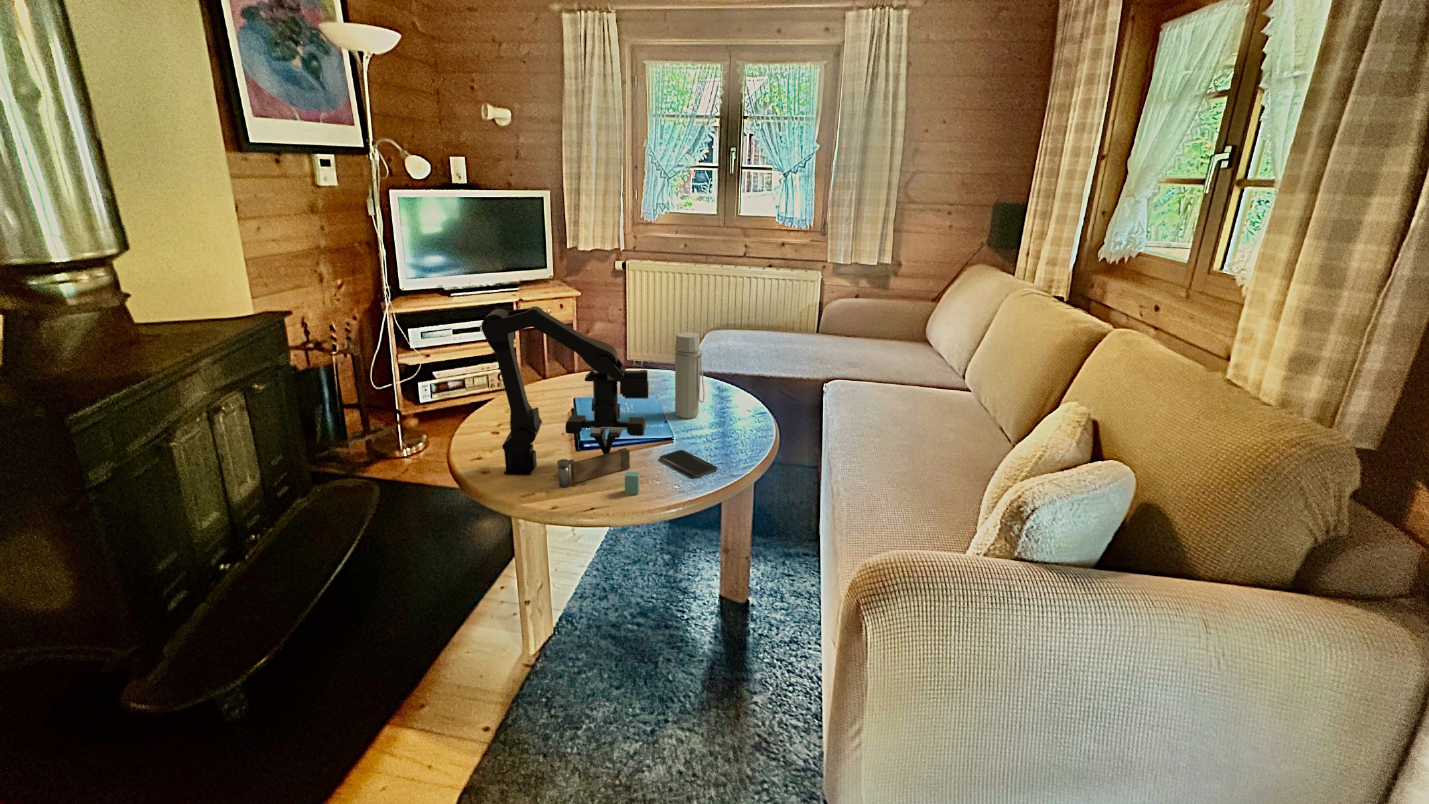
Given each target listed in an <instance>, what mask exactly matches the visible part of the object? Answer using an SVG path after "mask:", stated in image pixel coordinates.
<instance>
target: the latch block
mask: <svg viewBox="0 0 1429 804" xmlns="http://www.w3.org/2000/svg"><path fill="white" fill-rule="evenodd" d="M639 493H640V472H639V471H626V472H625V474H624V494H625V495H639Z"/></svg>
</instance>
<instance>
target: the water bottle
mask: <svg viewBox="0 0 1429 804" xmlns="http://www.w3.org/2000/svg"><path fill="white" fill-rule="evenodd" d="M675 338H676V339H675V346H674V351H675V354H674V355H675V356H674V357H675V359H674V362H675V363H674V366H675V368H674V372H675V373H674V375H675V376H674V381H675V383H674V384H675V386H674V390H675V391H674V394H675V395H674V403H675V404H674V406H675V408H674V414H675V415H676V416H677V417H679V418H681V419H688V420H689V419H693V418H696V417H697V416H698V415H699V413H700V408H699V407H700V404H699V403H702V404H703V403H704V401H705V397H706V396H705V394H706V393H705V381H704V371H703V362H702V357H703V353H704V352H703V350H701V347H700V345H701V344H700V335H699V333H696V332H692V331H689V332H688V331H684V332H678V333H676V334H675ZM701 383H702V391H703V392H702V393H703V395H702V400H701V396H700V394H701Z"/></svg>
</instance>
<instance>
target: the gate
mask: <svg viewBox="0 0 1429 804" xmlns="http://www.w3.org/2000/svg"><path fill="white" fill-rule="evenodd" d="M630 453H631V452H630V450H629V449H628V448H626V447H624V448H620V449H618V450H615V451H612V452H611V451H610V453H607V454H603V453H602V454H599V455H596V456H592V457H589V458H585V459H581V460H578V461H575V460H574V459H573V458H571V459H569V460H568V459H566V458H564V459H559V460H557V467H566V466H569V465H570V475H571V476H570V479H571V482H573V483H574V484H576V483H580V482H582V481H586V480H589V479H593V478H597V477H600V476H603V475H607V474H608V475H609V474H611V473H614V472H618V471H621V470H622V471H623V470H624V471H625V470H628V469H630V468H631V464H630V463H631V462H630V461H631V458H630V457H631V456H630Z"/></svg>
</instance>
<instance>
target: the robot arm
mask: <svg viewBox="0 0 1429 804" xmlns="http://www.w3.org/2000/svg"><path fill="white" fill-rule="evenodd" d="M480 327H481V331H482V333H483V335H484V338H485V340H486V342H487V344H488V345H489V347H490V348H491V349H492V351H493V352H494V353H495V357H496V360H497V361H496V362H497V364H498V367H499V372H500V375H501V379H502V383H503V387H504V390H505V393H506V397H507V401H508V406H509V409H510V410H509V412H510V415H509V416H510V417H509V429H510V431H509V433H508V434H507V436H506V438H505V440H504V441H503V444H502V446H501V448H502V450H503V452H504V463H505V470H504V471H503V475H504V476H530V475H532V473H533V472H534V471H535V469H536V467H537V451H536V450H534V444H533V443H534V441H535V440H536V438H537V435H538V433H539V432H540V429H541V425H542V423H543V420H542V419H541V417H540V411H539V407H538V406H537V407H534V408H533V407H532V406H531V405H530V403H529V401H528V397H527V393H526V389H525V386H524V385H525V384H524V380H523V377H522V373H521V369H520V366H519V363H518V359H517V354H516V351H515V332H518V331H522V330H524V329H528V328H534V329H536V330H538V331H539V332H541V333H542V334H545V335H547V336H548V337H549V338H550V339H553V340H555V341H557V342H558V343H559V344H561V345H562V346H565V347H566V348H568V349H569V350H571V351H572V352H575V353H576V354H577V355H578V356H579V357H581V359H582V360H583V361H584V363H586V365H588V366H589V367H590V368H591V369H590V371H589V372H588V373H586V374H585V377H584V381H585V382H592V384H593V385H592V389H593V390H592V392H593V398H592V399H591V411H592V412H593V420H591V419H590V420H589V419H587V417H586V415H583V414H581V415H579V414H572V415H570V416H569V417H568V419H567V421H566V422H565V426H564V427H565V433H566V434H573V435H576V434H577V435H578V434H580V433H581V432H582V431H583V430H582V429H590V434H589V437H590V438H594V440H595V442H596V443H597V444H598V446H599V448H600V451H601V452H602V455H603V454H607V453H611V450H612V446H613V445H614V442H615V439H620V437H621V434H622V432H623V430H626V433H627V434H628V435H629V436H634V437H636V436H637V437H643V436H645V435H644V434H645V430H646V428H647V422H646V418H644V417H643V416H629V418H628V420H627V421H626V420H625V421H623V420H619V419H620V418H621V403H620V402H619V398H618V395H619V394H620V395H622V396H621V397H624V399H626V400H628V399H630V400H631V399H634V400H635V399H637V400H638V399H641V400H642V399H643V400H648V399H649V387H650V386H649V380H648V378H649V377H648V376H649V375H648V369H641V370H626V369H627V368H626V366H625V365H624V364H623V362H621V361H620V359H619V358H618V356H619V354H618V351H617V349H616V347H614V346H613V345H611V344H609V343H606V342H604V341H601V340H599V339H596V338H595V339H594V338H591V337H588V336H585V335H584V334H582V333H580V332H579V331H578V330H575V329H574V328H573V327H571V326H569V325H567V324H566V323H564V322H562V320H559V319H557V318H556V317H555V316H553V315H551V314H549V313H547V312H546V311H544V310H543V309H542V308H541V307H539V306H537V305H535V306H531V307H528V308H527V307H526V308H516V309H512V310H508V311H507V310H506V309H503V308H497V309H494V310H492V311H491V312H490V313H489V314H487V316H485V317H484V319H483V320H482V321H481V326H480ZM618 382H619V390H618ZM618 391H619V393H618ZM618 402H619V403H618ZM606 430H608V433H606ZM606 434H607V435H606Z"/></svg>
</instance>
